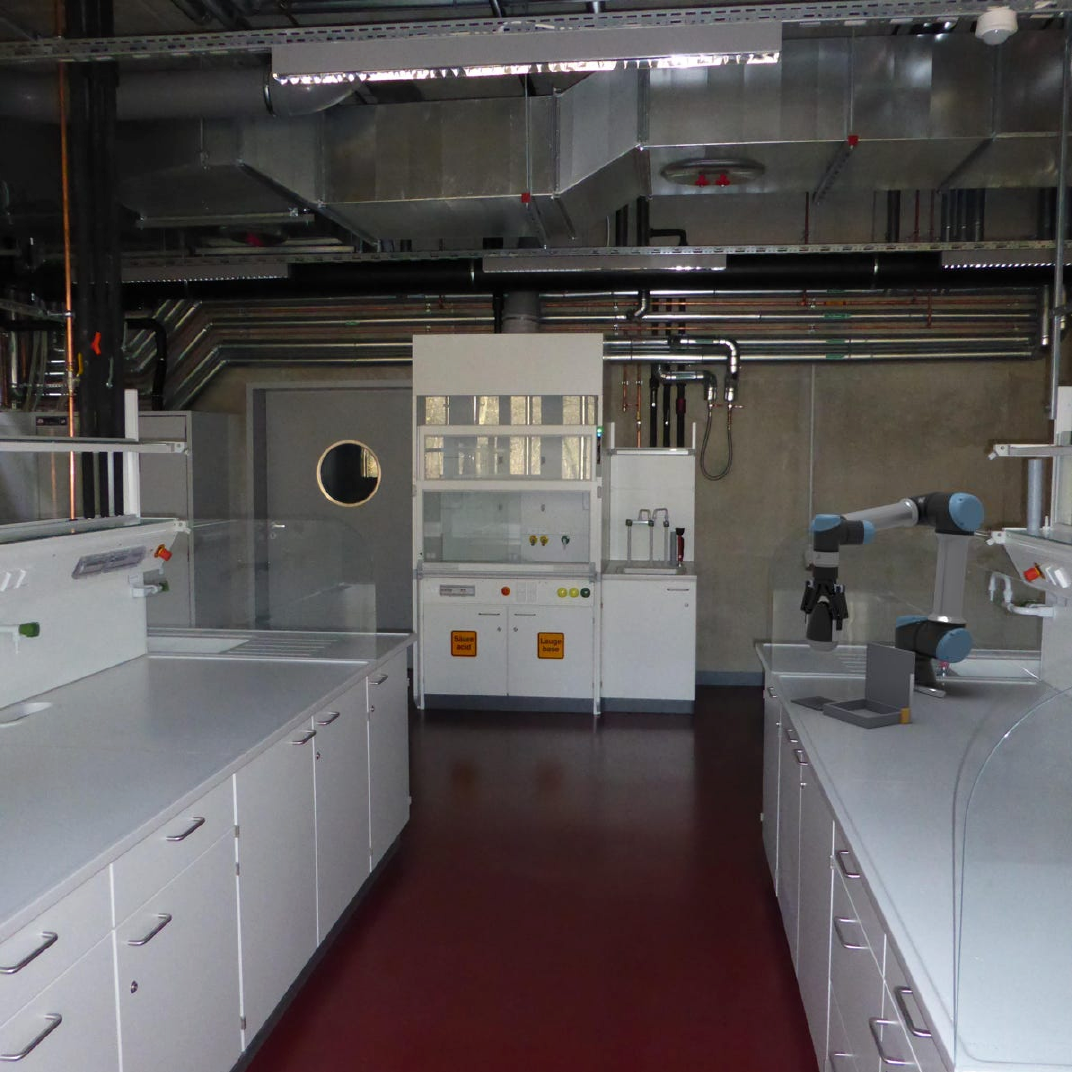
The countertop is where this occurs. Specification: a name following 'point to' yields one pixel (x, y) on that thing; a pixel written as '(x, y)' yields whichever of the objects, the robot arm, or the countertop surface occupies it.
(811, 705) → the pad
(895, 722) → the case
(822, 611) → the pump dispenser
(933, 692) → the rod
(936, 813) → the countertop surface
